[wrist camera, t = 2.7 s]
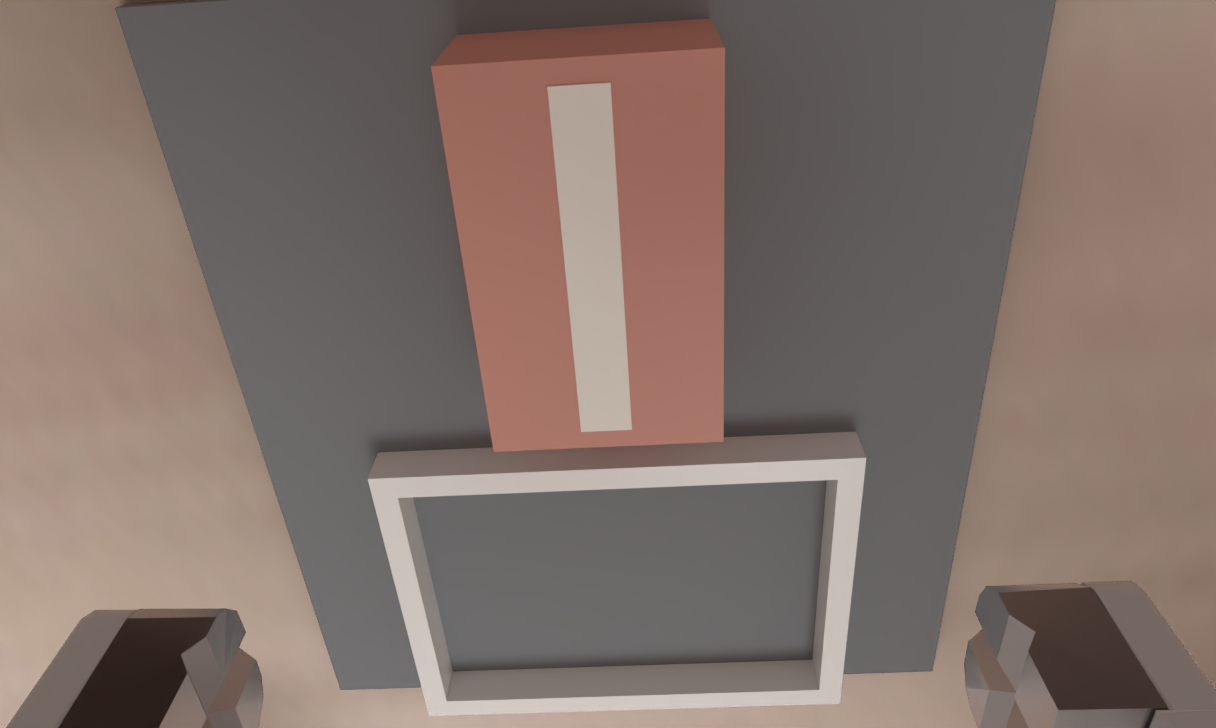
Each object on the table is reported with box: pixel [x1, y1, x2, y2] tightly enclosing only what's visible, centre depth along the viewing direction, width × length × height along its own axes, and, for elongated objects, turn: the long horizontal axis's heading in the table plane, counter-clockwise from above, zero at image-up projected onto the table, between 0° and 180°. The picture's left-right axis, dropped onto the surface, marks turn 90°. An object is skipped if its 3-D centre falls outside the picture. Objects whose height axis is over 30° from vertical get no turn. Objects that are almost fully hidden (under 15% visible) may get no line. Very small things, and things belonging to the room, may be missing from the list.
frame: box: [368, 431, 866, 716], centre depth 27 cm, size 13×10×1 cm
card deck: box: [431, 18, 725, 452], centre depth 20 cm, size 9×6×3 cm, turn 3°
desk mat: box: [115, 0, 1056, 690], centre depth 24 cm, size 20×22×1 cm
